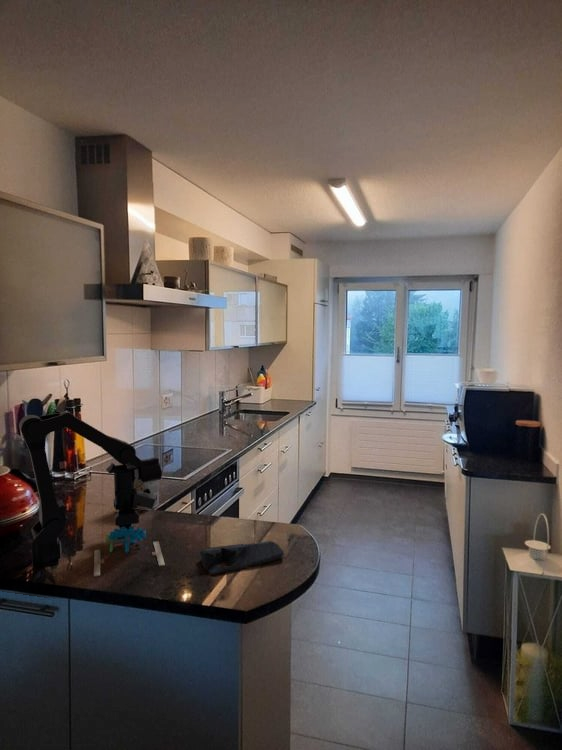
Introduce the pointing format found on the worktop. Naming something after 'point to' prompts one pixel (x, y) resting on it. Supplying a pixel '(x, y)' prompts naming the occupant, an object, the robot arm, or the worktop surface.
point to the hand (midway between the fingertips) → (126, 538)
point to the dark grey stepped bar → (239, 556)
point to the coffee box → (153, 490)
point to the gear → (125, 537)
